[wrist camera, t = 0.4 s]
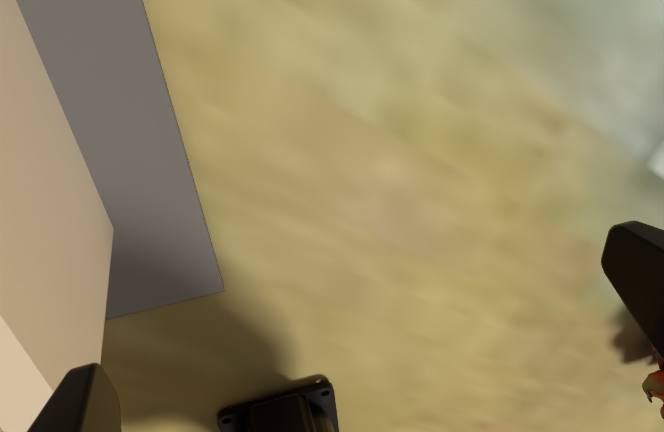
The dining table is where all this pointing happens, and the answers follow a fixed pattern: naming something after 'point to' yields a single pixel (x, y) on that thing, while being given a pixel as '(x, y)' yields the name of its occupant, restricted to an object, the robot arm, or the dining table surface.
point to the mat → (128, 148)
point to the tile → (43, 236)
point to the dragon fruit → (655, 381)
